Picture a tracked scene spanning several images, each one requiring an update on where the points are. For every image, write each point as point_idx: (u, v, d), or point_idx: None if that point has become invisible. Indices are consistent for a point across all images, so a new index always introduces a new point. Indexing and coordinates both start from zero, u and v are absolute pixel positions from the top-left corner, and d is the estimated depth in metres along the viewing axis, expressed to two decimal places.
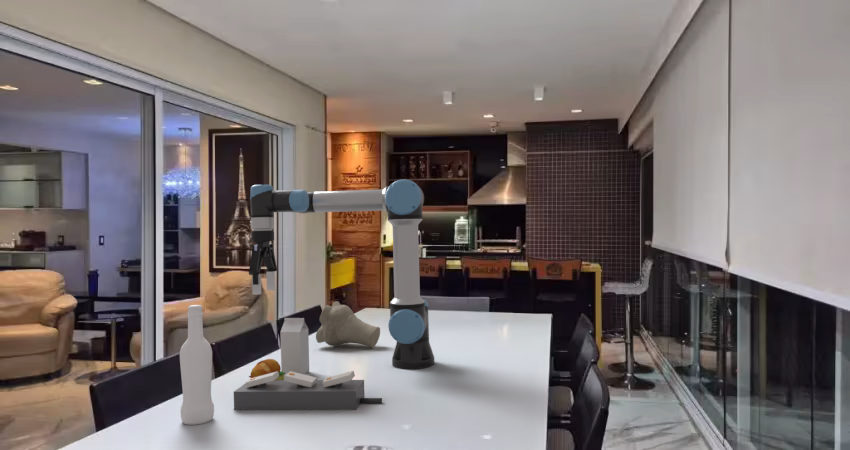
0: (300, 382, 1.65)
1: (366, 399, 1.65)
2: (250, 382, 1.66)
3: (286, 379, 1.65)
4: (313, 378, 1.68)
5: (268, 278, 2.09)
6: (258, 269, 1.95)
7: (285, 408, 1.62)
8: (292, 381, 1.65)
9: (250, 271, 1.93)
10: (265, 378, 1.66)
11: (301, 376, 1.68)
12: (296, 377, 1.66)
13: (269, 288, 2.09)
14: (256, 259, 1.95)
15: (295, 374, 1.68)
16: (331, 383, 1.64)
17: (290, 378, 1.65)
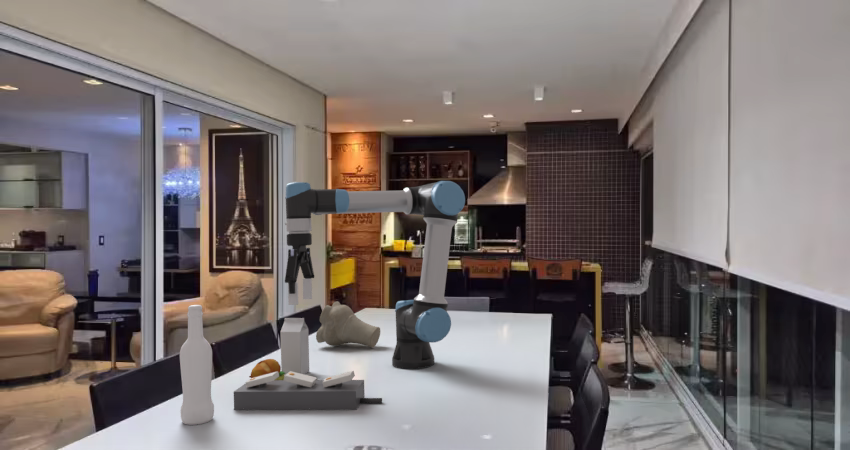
0: (300, 382, 1.65)
1: (366, 399, 1.65)
2: (250, 382, 1.66)
3: (286, 379, 1.65)
4: (313, 378, 1.68)
5: (304, 286, 1.89)
6: (295, 276, 1.75)
7: (285, 408, 1.62)
8: (292, 381, 1.65)
9: (286, 279, 1.73)
10: (265, 378, 1.66)
11: (301, 376, 1.68)
12: (296, 377, 1.66)
13: (305, 297, 1.89)
14: (293, 265, 1.74)
15: (295, 374, 1.68)
16: (331, 383, 1.64)
17: (290, 378, 1.65)
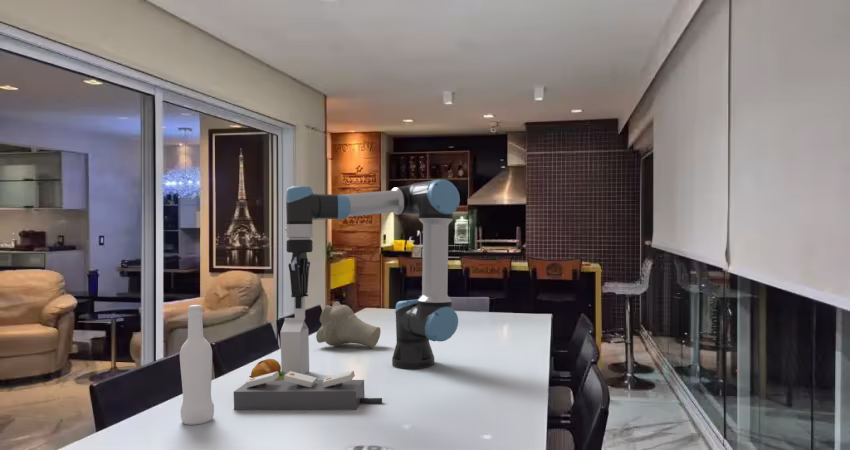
0: (300, 382, 1.65)
1: (366, 399, 1.65)
2: (250, 382, 1.66)
3: (286, 379, 1.65)
4: (313, 378, 1.68)
5: None
6: (301, 292, 1.73)
7: (285, 408, 1.62)
8: (292, 381, 1.65)
9: (293, 294, 1.71)
10: (265, 378, 1.66)
11: (301, 376, 1.68)
12: (296, 377, 1.66)
13: None
14: (297, 281, 1.70)
15: (295, 374, 1.68)
16: (331, 383, 1.64)
17: (290, 378, 1.65)
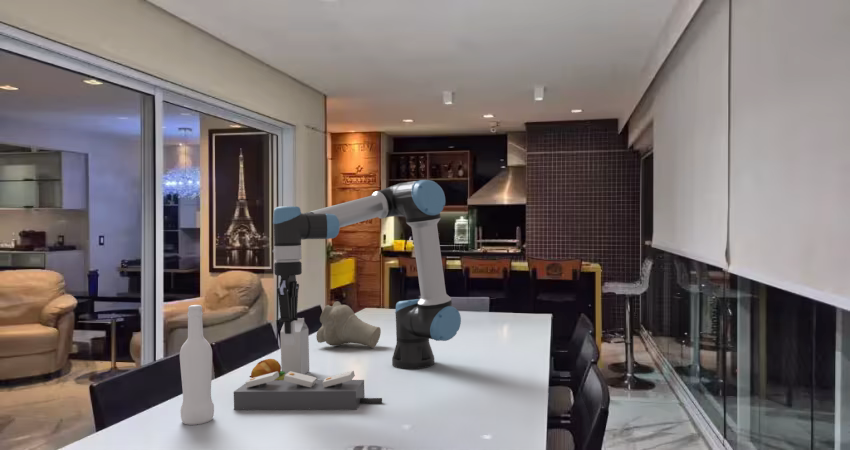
0: (300, 382, 1.65)
1: (366, 399, 1.65)
2: (250, 382, 1.66)
3: (286, 379, 1.65)
4: (313, 378, 1.68)
5: None
6: (290, 316, 1.66)
7: (285, 408, 1.62)
8: (292, 381, 1.65)
9: (282, 319, 1.64)
10: (265, 378, 1.66)
11: (301, 376, 1.68)
12: (296, 377, 1.66)
13: None
14: (286, 305, 1.63)
15: (295, 374, 1.68)
16: (331, 383, 1.64)
17: (290, 378, 1.65)
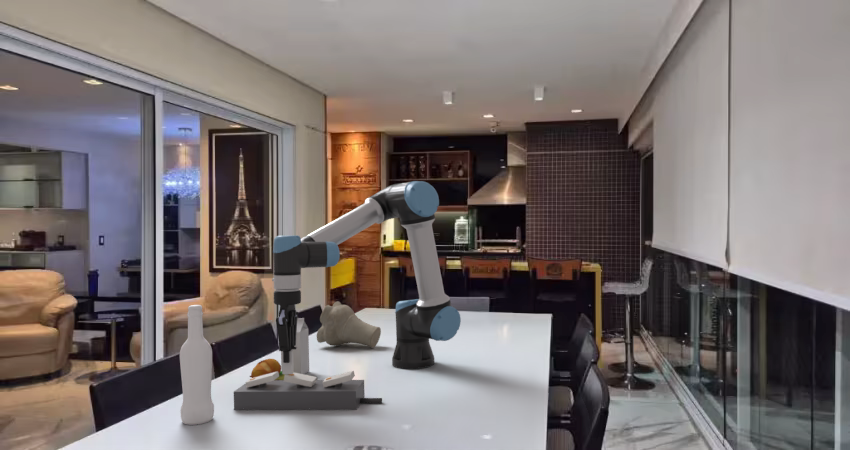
0: (300, 382, 1.65)
1: (366, 399, 1.65)
2: (250, 382, 1.66)
3: (286, 379, 1.65)
4: (313, 378, 1.68)
5: None
6: (289, 346, 1.66)
7: (285, 408, 1.62)
8: (292, 381, 1.65)
9: (281, 349, 1.64)
10: (265, 378, 1.66)
11: (301, 376, 1.68)
12: (296, 377, 1.66)
13: None
14: (284, 335, 1.63)
15: (295, 374, 1.68)
16: (331, 383, 1.64)
17: (290, 378, 1.65)
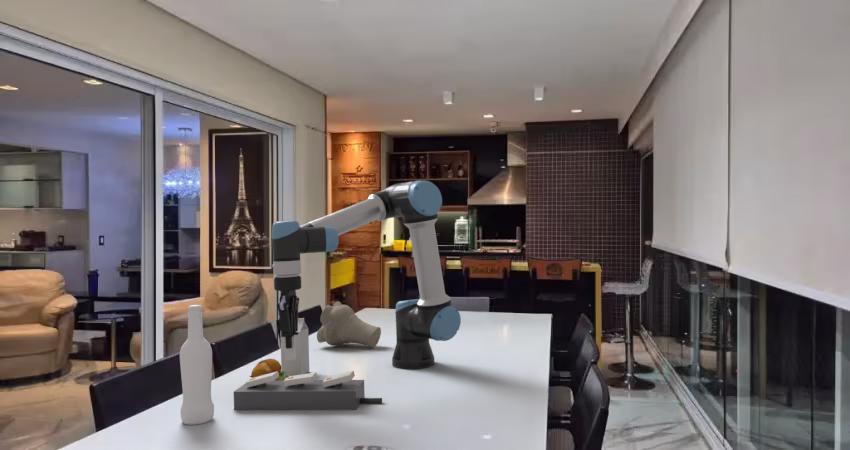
0: (300, 381, 1.65)
1: (366, 399, 1.65)
2: (250, 382, 1.66)
3: (286, 383, 1.65)
4: (312, 373, 1.68)
5: None
6: (291, 331, 1.66)
7: (285, 408, 1.62)
8: (292, 383, 1.65)
9: (283, 335, 1.64)
10: (265, 378, 1.66)
11: (300, 375, 1.68)
12: (295, 378, 1.66)
13: None
14: (286, 321, 1.63)
15: (294, 376, 1.68)
16: (331, 383, 1.64)
17: (290, 381, 1.65)
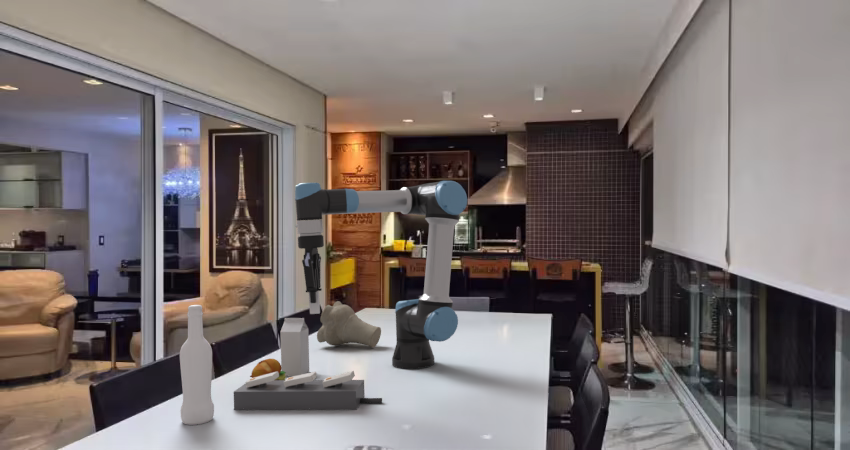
0: (300, 381, 1.65)
1: (366, 399, 1.65)
2: (250, 382, 1.66)
3: (286, 384, 1.65)
4: (312, 373, 1.68)
5: None
6: (315, 286, 1.75)
7: (285, 408, 1.62)
8: (293, 383, 1.65)
9: (308, 290, 1.74)
10: (265, 378, 1.66)
11: (300, 376, 1.68)
12: (295, 378, 1.66)
13: None
14: (311, 276, 1.73)
15: (294, 377, 1.68)
16: (331, 383, 1.64)
17: (290, 381, 1.65)
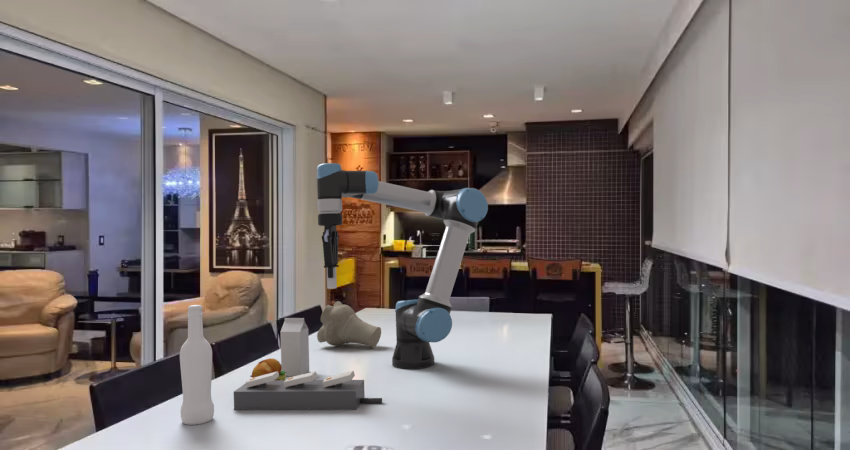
0: (300, 381, 1.65)
1: (366, 399, 1.65)
2: (250, 382, 1.66)
3: (286, 384, 1.65)
4: (312, 373, 1.68)
5: None
6: (333, 262, 1.84)
7: (285, 408, 1.62)
8: (293, 383, 1.65)
9: (326, 265, 1.83)
10: (265, 378, 1.66)
11: (300, 376, 1.68)
12: (295, 378, 1.66)
13: None
14: (329, 252, 1.81)
15: (294, 377, 1.68)
16: (331, 383, 1.64)
17: (290, 382, 1.65)
